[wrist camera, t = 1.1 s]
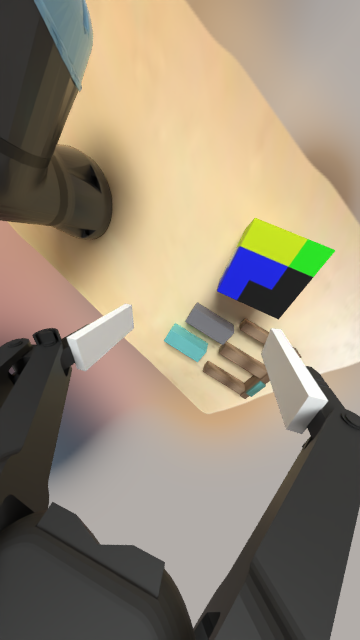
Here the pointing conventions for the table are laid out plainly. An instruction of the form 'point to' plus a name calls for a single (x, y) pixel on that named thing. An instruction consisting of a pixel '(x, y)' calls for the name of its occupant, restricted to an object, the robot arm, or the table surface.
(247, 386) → the comb rack
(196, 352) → the teal block
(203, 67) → the table surface
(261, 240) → the puzzle toy
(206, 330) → the grey block
